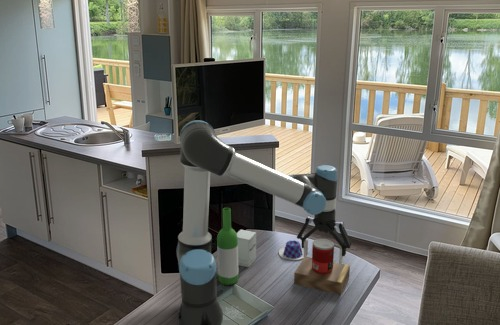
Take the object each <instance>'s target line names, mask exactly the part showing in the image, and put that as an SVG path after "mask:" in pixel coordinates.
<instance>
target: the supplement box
mask: <svg viewBox="0 0 500 325" xmlns="http://www.w3.org/2000/svg"><path fill="white" fill-rule="evenodd" d="M236 233H237V237H238V266H240V267H245V268H250V267H251V265H252V264H253V263H254V262H255V261H256V260H257V232H256V231H251V230H244V229H239V230H238V231H237V232H236Z"/></svg>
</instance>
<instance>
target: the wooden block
mask: <svg viewBox="0 0 500 325" xmlns="http://www.w3.org/2000/svg"><path fill="white" fill-rule="evenodd" d="M350 271H351V265H350V264H346V263H345V264H343V263H342V264H341V265H339V262H334V261H333V270H332V272H330V273H328V274H319V273H316V272H315V271H313V269H312V257H310V256H306V257H304V258H302V259H301V262H300V263H299V265H298V267H296V269H295V271H294V273H293V274H294V275H293V277H294V279H293V281H294V282H293V285H296V286H300V287H301V286H302V287H305V288H309V289H314V290H318V291H322V292H326V293H330V294H335V295H338V296H342V294H343V292H344V290H345V287H346V286H347V284H348V281H349V279H350V273H351V272H350Z"/></svg>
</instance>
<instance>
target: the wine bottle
mask: <svg viewBox="0 0 500 325" xmlns="http://www.w3.org/2000/svg"><path fill="white" fill-rule="evenodd" d="M231 211H232V210H231V208H230V207H227V206H226V207H224V208H222V228H221V229H220V230H219V231H218V232H217V233H218V234H217V236H216V244H217V245H216V247H217V250H216V251H217V273H218V274H217V275H218V281H219V283H220V284H223V285H225V286H227V285H228V286H231V285H234V284H236V283H237V282H238V280H239V278H240V277H239V265H238V237H237V232H236V231H235V229H233V227H232V214H231V213H232V212H231ZM233 283H234V284H233ZM230 284H231V285H230Z"/></svg>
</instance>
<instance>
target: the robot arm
mask: <svg viewBox="0 0 500 325" xmlns="http://www.w3.org/2000/svg"><path fill="white" fill-rule="evenodd" d="M181 128H182V129H181V130H180V133H179V142H180V155H179V156H180V158H179V159H180V161H179V162H180V164H181V165H182V166H183V167H184V177H183V178H184V179H183V180H184V182H183V183H184V184H183V186H184V187H183V209H182V210H183V214H182V215H183V218H182V221H183V222H182V231H181V232H180V233H179V234H178V235H177V239H178V240H177V246H176V258H177V261H178V262H177V265H178V271H179V282H180V294H181V302H180V306H179V309H178V312H177V324H178V325H221V324H222V323H223V320H224V317H223V316H224V313H223V308H222V307H221V305H220V302H219V300H218V292H217V291H218V289H217V263H216V258H215V257H214V255H213V254H212V238H213V237H212V234H211V233H210V232H209V212H210V210H209V209H210V208H209V206H210V186H211V173H212V174H214V175H215V176H216V175H217V176H219V177H223V176H228V177H231V178H233V179H235V180H237V181H238V182H241V183H243V184H247V185H249V186H251V187H253V188H256V189H259V190H261V191H263V192H265V193H268V194H270V195H273V196H274V197H277V198H280V199H282V200H284V201H287V202H289V203H291V204H293V205H295V206H298V207H300V208H302V209H303V210H304V211H305V212H307V214H309V215H307V217H306V218H305V222H304V225H303V226H302V228H301V229H300V231H299V232H298V234H297V236H296V239H298V240H299V239H300V240H301V244H300V246H301V248H303V249H304V257H308V255H309V254H308V253H309V251H308V249H309V237H310V236H311V235H313V233H315V232H316V231H317V230H318V231H319V232H325V233H327V234H328V233H329V234H330V235H332V237H333V238H334V239H335V241H336V242H337V244H338V245H339V246H340V247H339V253H338V254H339V257H338V263H339V265H341V264H343V262H344V261H343V260H344V257H345V256H346V254H347V249H351V247H352V241H351V240H350V236H349V235H348V232H347V231H346V228H345V222H344V221H342V220H341V221H336V213H337V212H336V208H337V206H336V205H337V191H338V190H337V187H338V170H337V168H336V167H335V166H332V165H328V164H321V165H319V166H317V167H316V169H315V172H311V173H299V174H298V173H297V174H296V173H295V174H289V175H288V174H285V173H283V172H280V171H279V170H276V169H274V168H272V167H269V166H267V165H265V164H262V163H260V162H258V161H257V160H256V161H255V160H254V159H252V158H249V157H247V156H245V155H242V154H240V153H238V152H236V151H235V148H234V147H233V146H230V145H228V144H226V143H225V142H223V141H222V140H221V139H220V138H219V137H218V135H217V133H216V131H215V129H214V128H213V126H212V125H211V124H210V123H208V122H206V121H204V120H199V119H198V120H197V119H196V120H191V121H189V122H187V123H186V124H185V125H184V126H183V127H181ZM311 215H314V217H311ZM311 223H313V224H314V226H313V227H312V228H310V230H308V231H307V233H304V232H306V229H307V227H308V226H309V224H311ZM336 227H337V228H336ZM337 229H339V232H338V231H337ZM339 233H340V234H339ZM303 234H304V235H303Z"/></svg>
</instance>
